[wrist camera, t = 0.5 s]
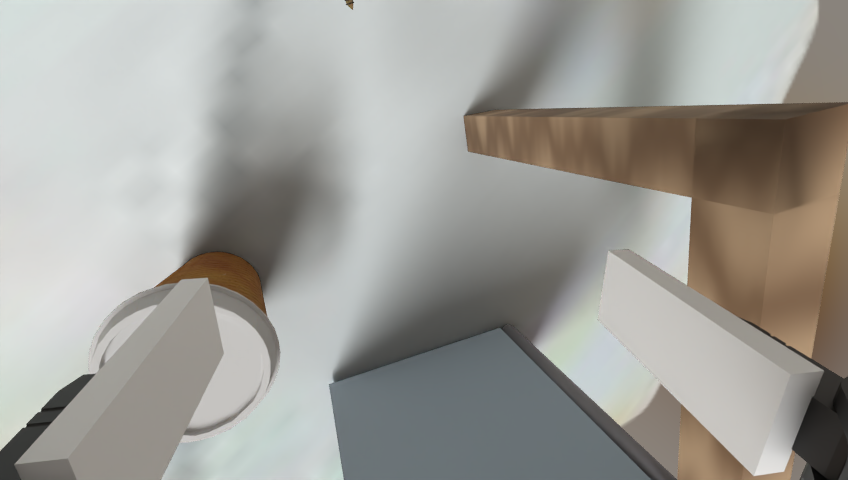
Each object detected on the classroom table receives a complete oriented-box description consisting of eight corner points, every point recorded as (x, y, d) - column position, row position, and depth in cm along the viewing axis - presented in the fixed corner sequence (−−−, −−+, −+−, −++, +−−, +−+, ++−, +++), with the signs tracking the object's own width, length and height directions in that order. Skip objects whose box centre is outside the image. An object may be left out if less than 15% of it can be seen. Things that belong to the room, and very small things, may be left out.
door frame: (463, 115, 35) (784, 119, 13) (495, 109, 36) (855, 102, 13) (496, 370, 44) (721, 645, 21) (521, 361, 45) (766, 618, 22)
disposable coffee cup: (119, 295, 31) (29, 393, 20) (212, 206, 32) (172, 255, 21) (225, 363, 35) (197, 477, 24) (306, 283, 35) (315, 360, 24)
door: (513, 322, 42) (686, 481, 24) (517, 352, 43) (684, 524, 25) (328, 383, 38) (368, 635, 20) (338, 414, 39) (383, 678, 21)
